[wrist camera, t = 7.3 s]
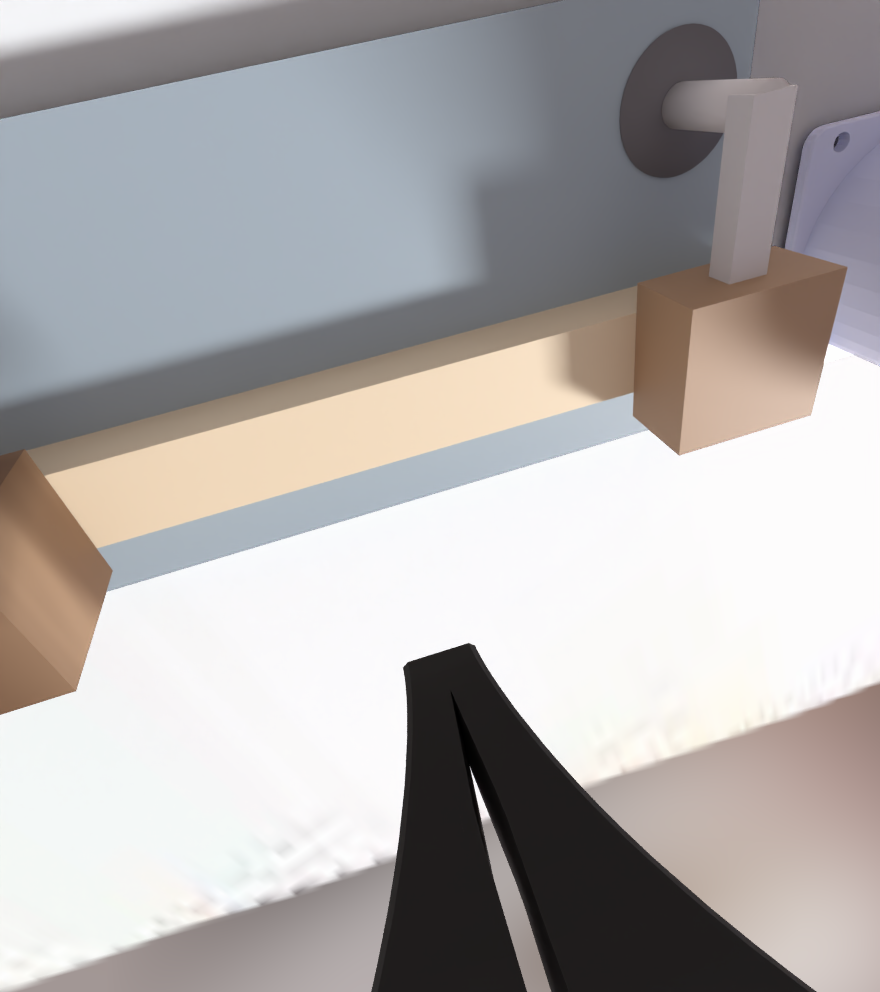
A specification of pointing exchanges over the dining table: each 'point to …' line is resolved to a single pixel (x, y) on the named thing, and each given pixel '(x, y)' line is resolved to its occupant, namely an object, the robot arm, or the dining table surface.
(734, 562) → the dining table surface
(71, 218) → the gauge board
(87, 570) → the slider
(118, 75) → the dining table surface
